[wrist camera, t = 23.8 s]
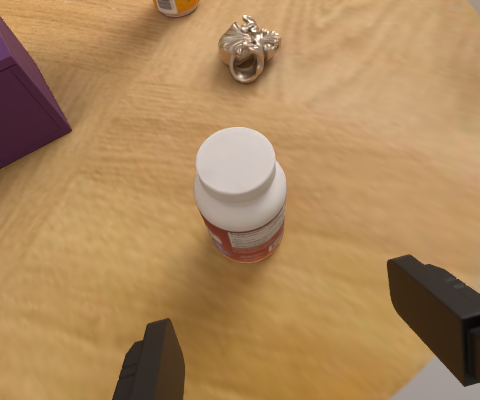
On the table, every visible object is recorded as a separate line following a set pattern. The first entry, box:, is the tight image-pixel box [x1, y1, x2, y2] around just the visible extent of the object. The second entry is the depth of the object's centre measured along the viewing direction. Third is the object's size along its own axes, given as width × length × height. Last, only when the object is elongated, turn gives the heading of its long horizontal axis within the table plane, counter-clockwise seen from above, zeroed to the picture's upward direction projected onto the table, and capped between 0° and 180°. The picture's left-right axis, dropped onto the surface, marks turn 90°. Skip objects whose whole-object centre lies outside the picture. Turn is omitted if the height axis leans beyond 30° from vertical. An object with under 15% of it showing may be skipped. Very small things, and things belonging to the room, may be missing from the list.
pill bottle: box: [194, 127, 287, 263], centre depth 25 cm, size 6×6×11 cm
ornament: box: [218, 15, 281, 83], centre depth 38 cm, size 8×7×4 cm
